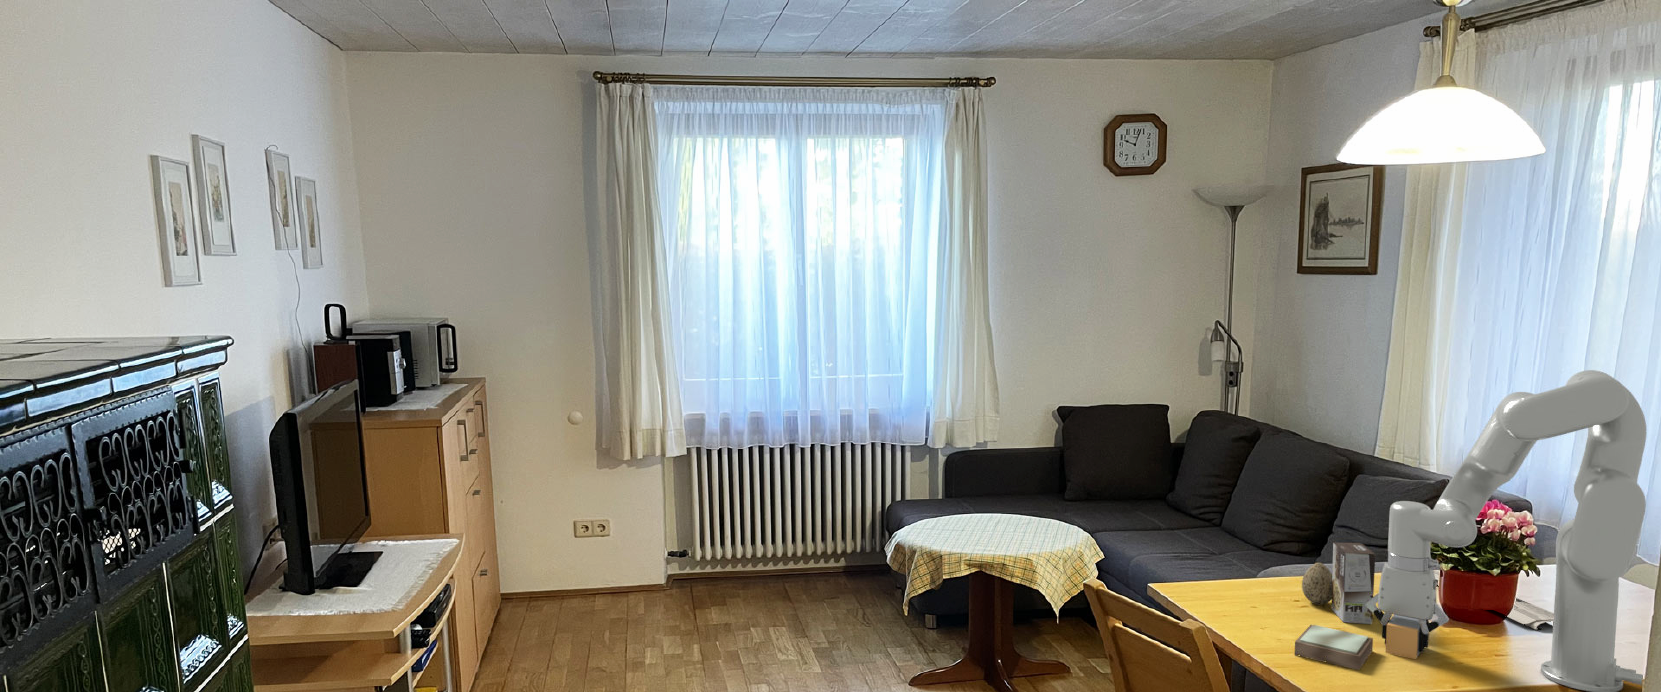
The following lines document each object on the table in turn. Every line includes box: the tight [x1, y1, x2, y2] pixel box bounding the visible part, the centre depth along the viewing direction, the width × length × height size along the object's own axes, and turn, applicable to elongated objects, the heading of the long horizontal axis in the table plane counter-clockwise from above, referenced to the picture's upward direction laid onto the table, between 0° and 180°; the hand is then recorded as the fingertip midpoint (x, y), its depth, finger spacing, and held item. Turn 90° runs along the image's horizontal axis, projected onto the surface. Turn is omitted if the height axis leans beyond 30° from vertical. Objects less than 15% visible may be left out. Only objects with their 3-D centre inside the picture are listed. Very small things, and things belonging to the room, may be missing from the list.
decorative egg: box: [1301, 562, 1332, 605], centre depth 229 cm, size 7×7×10 cm
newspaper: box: [1432, 569, 1554, 630], centre depth 230 cm, size 35×12×4 cm, turn 8°
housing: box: [1385, 614, 1421, 660], centre depth 202 cm, size 6×8×6 cm
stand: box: [1294, 624, 1374, 671], centre depth 201 cm, size 12×12×3 cm
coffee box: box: [1330, 542, 1376, 625], centre depth 221 cm, size 9×6×16 cm
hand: (1404, 645), depth 202 cm, fingers closed on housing, 5 cm apart
